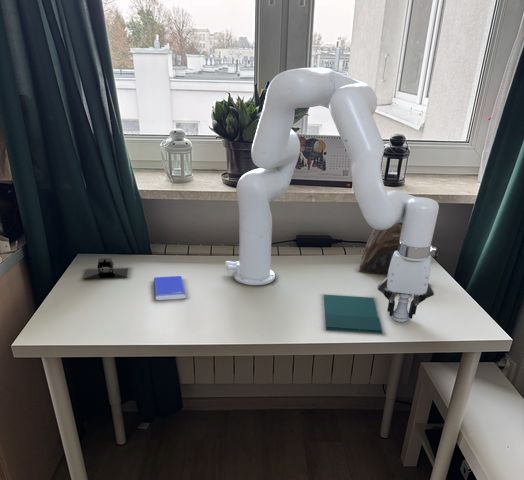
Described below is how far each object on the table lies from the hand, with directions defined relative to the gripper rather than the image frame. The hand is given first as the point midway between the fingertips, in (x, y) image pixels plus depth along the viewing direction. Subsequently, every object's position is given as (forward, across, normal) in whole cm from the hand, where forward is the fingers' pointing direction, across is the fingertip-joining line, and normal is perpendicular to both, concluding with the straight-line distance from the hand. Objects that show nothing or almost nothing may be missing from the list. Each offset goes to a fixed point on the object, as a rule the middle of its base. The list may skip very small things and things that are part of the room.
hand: (400, 314), depth 134 cm
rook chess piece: (+2, 0, 0) cm, 2 cm away
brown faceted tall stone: (+2, +6, -34) cm, 35 cm away
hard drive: (+2, +65, -2) cm, 65 cm away
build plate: (+2, +87, -8) cm, 87 cm away
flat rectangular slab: (+1, +13, 0) cm, 13 cm away
